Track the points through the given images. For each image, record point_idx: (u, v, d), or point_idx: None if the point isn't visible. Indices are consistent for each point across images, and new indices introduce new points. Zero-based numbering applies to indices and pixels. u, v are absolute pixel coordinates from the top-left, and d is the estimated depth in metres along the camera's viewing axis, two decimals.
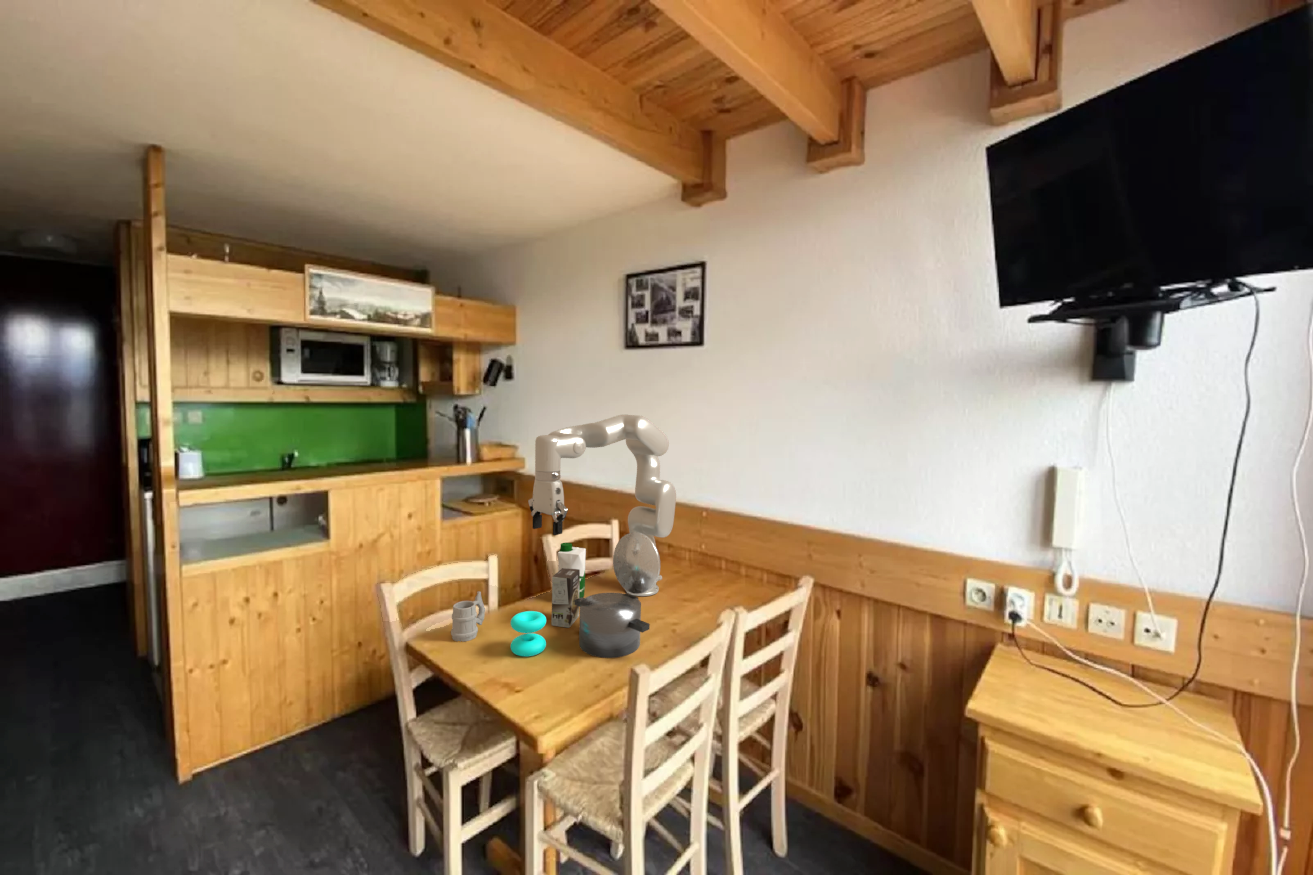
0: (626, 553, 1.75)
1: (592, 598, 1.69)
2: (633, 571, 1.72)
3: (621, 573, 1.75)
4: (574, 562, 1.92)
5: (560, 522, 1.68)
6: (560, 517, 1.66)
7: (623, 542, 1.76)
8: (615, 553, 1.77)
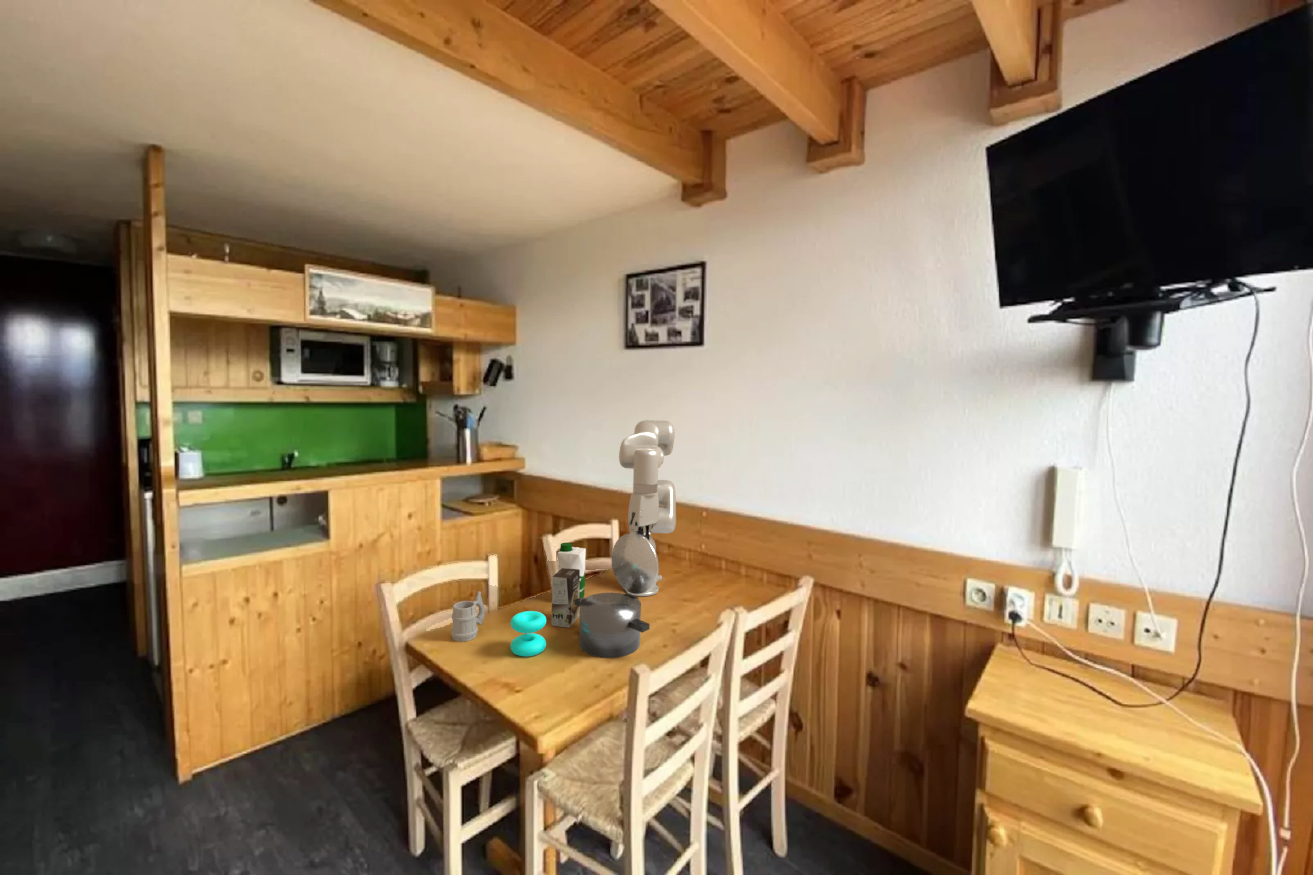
0: (624, 553, 1.74)
1: (592, 598, 1.69)
2: (632, 572, 1.72)
3: (620, 573, 1.75)
4: (574, 562, 1.92)
5: None
6: (651, 527, 1.76)
7: (621, 543, 1.75)
8: (613, 553, 1.77)
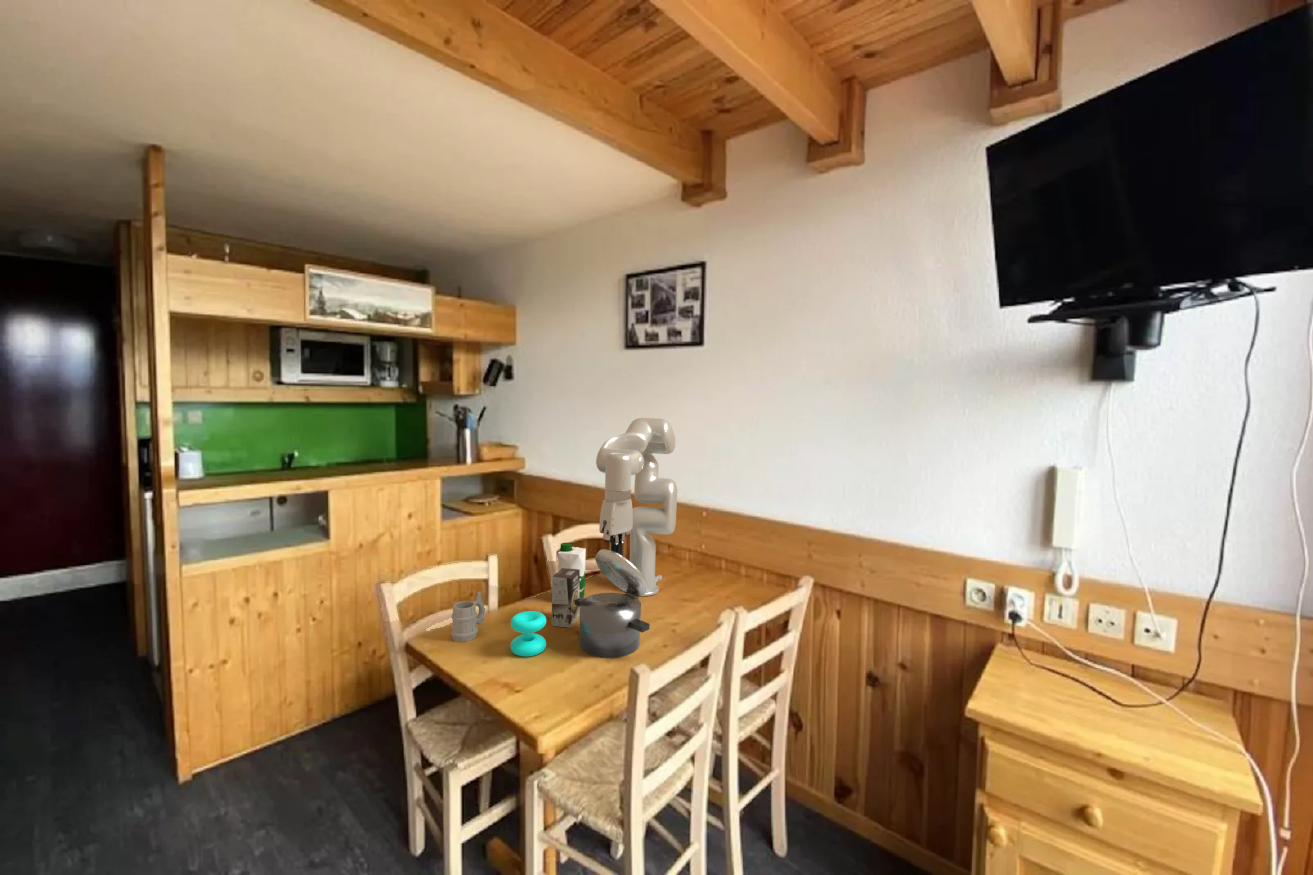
0: (608, 566, 1.69)
1: (592, 598, 1.69)
2: (622, 580, 1.69)
3: (613, 580, 1.73)
4: (574, 562, 1.92)
5: None
6: (625, 536, 1.66)
7: (600, 558, 1.68)
8: (598, 565, 1.72)
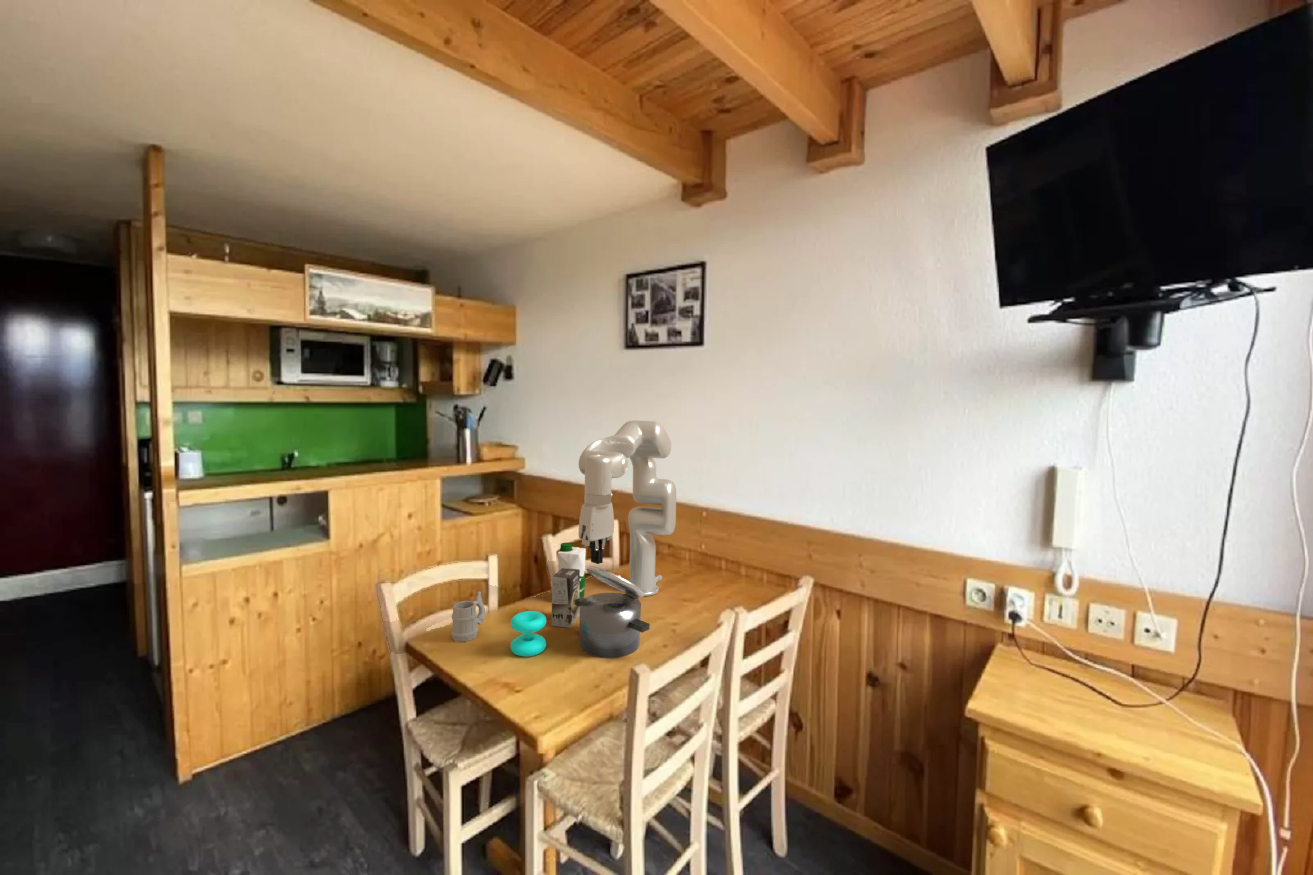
0: (601, 577, 1.67)
1: (592, 598, 1.69)
2: (619, 587, 1.68)
3: (611, 585, 1.72)
4: (574, 562, 1.92)
5: None
6: (605, 541, 1.60)
7: (591, 572, 1.66)
8: (592, 575, 1.71)
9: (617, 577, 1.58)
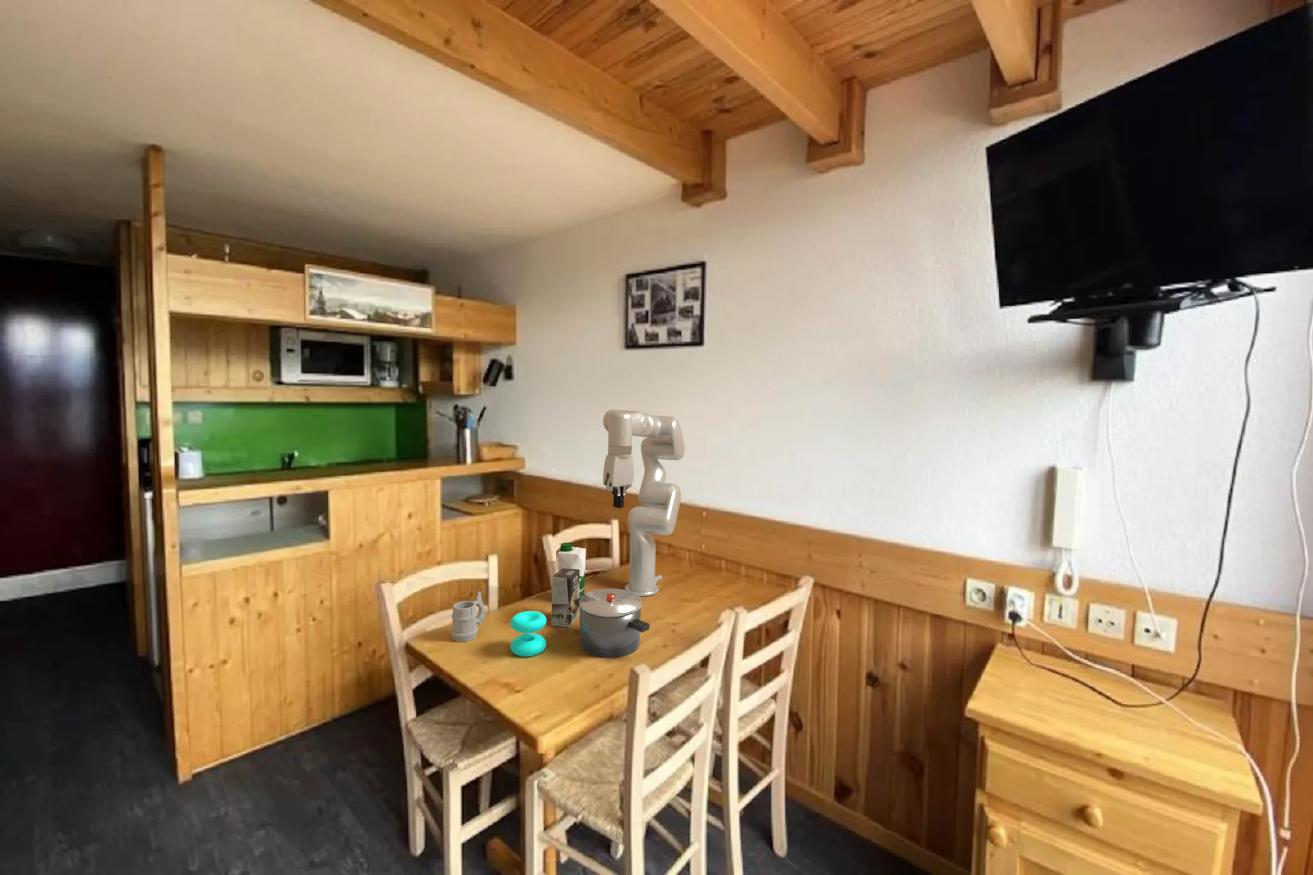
0: None
1: None
2: None
3: None
4: (574, 562, 1.92)
5: None
6: (626, 489, 1.81)
7: None
8: None
9: (608, 614, 1.56)
